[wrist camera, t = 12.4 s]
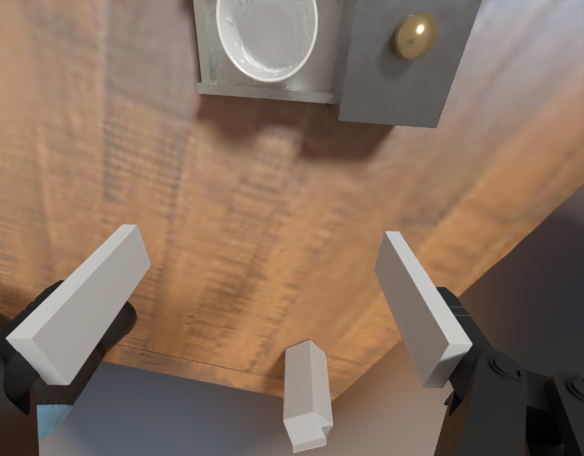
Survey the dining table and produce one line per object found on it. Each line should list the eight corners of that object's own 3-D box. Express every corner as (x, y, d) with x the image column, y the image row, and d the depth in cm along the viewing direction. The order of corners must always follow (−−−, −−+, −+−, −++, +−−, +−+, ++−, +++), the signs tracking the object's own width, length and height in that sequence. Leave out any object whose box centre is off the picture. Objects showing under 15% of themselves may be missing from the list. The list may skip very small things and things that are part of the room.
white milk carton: (285, 348, 63) (282, 446, 47) (310, 338, 60) (315, 438, 44) (301, 361, 66) (303, 458, 50) (325, 352, 63) (336, 451, 48)
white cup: (322, 6, 27) (334, -17, 19) (295, 86, 31) (296, 97, 23) (249, -30, 26) (228, -72, 17) (231, 59, 30) (207, 60, 21)
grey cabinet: (210, 97, 33) (178, 112, 24) (196, -62, 25) (139, -131, 16) (408, 113, 34) (451, 133, 24) (451, -37, 26) (538, -90, 17)
